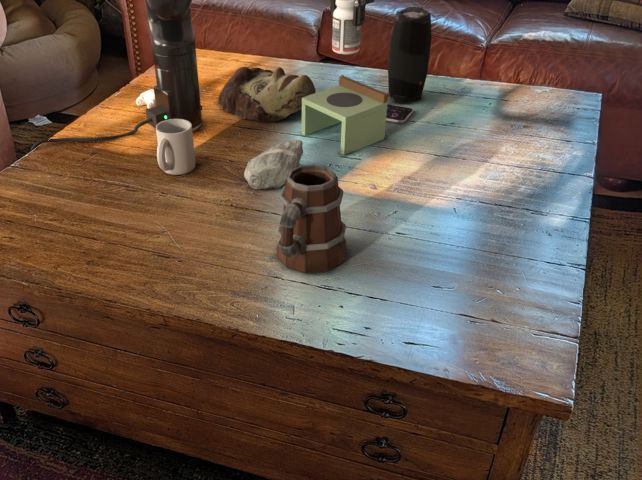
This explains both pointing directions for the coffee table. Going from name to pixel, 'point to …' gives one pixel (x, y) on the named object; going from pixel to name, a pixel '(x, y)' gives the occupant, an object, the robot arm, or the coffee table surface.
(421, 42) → the portable speaker
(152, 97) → the astronaut figurine
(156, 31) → the robot arm
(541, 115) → the coffee table surface
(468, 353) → the coffee table surface
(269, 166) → the decorative stone
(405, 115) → the smartphone
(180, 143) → the cup
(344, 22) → the pill bottle
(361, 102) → the green footstool with circle
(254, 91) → the sculpture
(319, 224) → the mug
